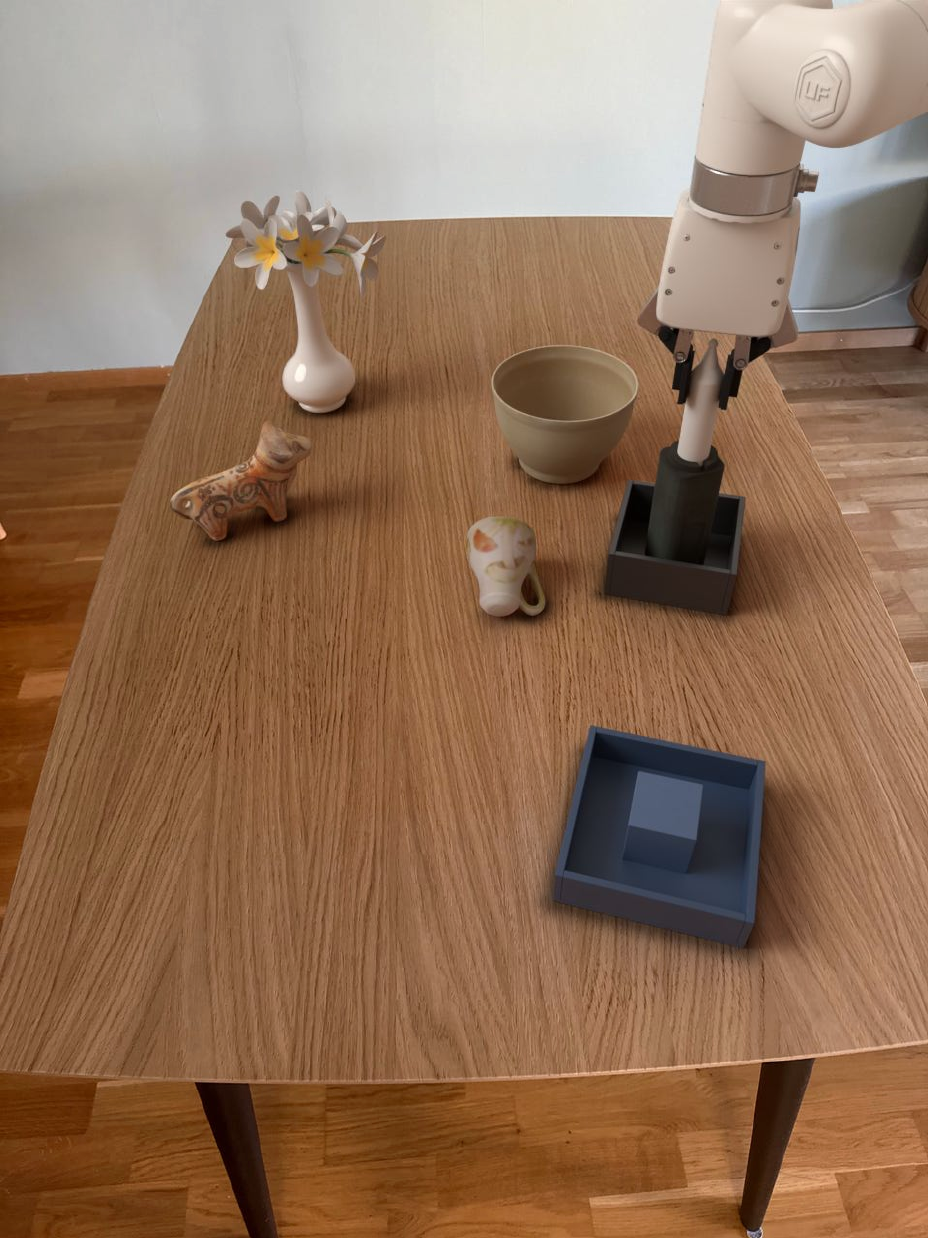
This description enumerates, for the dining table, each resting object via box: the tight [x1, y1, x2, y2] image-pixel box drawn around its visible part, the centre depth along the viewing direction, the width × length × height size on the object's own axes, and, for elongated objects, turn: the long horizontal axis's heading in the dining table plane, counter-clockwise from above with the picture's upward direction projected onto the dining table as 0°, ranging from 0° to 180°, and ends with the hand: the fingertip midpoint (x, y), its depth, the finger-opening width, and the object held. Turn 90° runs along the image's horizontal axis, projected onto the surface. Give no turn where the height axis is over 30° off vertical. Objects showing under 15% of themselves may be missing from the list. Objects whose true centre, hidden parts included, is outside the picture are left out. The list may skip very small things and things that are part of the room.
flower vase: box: [225, 189, 387, 414], centre depth 110 cm, size 13×18×25 cm
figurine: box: [169, 419, 313, 542], centre depth 99 cm, size 7×16×10 cm, turn 117°
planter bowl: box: [490, 344, 640, 485], centre depth 104 cm, size 16×16×11 cm
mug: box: [465, 515, 546, 617], centre depth 92 cm, size 8×10×10 cm
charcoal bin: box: [603, 479, 747, 616], centre depth 93 cm, size 12×12×6 cm
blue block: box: [622, 771, 703, 874], centre depth 71 cm, size 5×5×5 cm
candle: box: [645, 337, 726, 565], centre depth 86 cm, size 5×5×25 cm
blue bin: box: [552, 724, 766, 949], centre depth 71 cm, size 14×14×4 cm
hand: (703, 397), depth 81 cm, fingers closed on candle, 3 cm apart
